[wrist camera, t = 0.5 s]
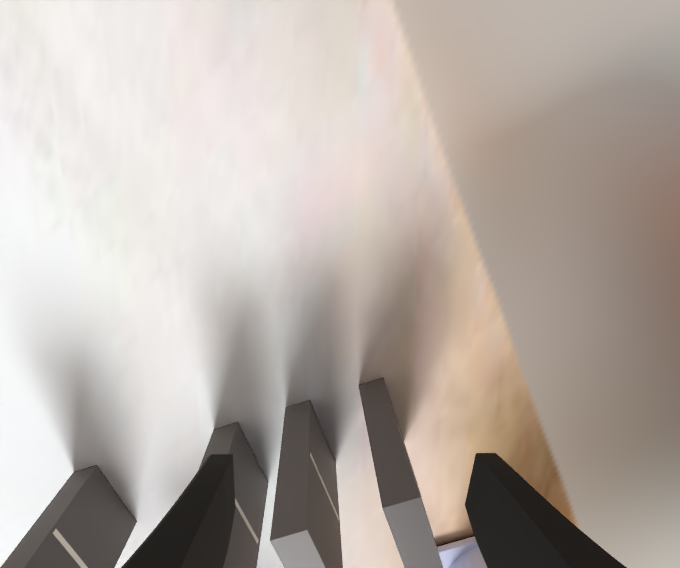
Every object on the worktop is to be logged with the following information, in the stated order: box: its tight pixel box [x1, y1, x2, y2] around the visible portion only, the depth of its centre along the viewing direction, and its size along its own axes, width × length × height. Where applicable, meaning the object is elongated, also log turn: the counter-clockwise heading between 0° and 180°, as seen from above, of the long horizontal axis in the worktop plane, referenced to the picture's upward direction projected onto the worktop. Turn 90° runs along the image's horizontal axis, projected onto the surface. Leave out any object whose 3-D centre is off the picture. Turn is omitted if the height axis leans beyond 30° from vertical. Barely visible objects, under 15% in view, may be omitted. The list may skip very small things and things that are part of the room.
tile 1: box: [359, 378, 443, 568], centre depth 19 cm, size 2×5×8 cm, turn 18°
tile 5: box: [1, 465, 136, 568], centre depth 19 cm, size 2×5×8 cm, turn 17°
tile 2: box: [270, 400, 343, 568], centre depth 19 cm, size 2×5×8 cm, turn 17°
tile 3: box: [199, 422, 268, 568], centre depth 19 cm, size 2×5×8 cm, turn 17°
